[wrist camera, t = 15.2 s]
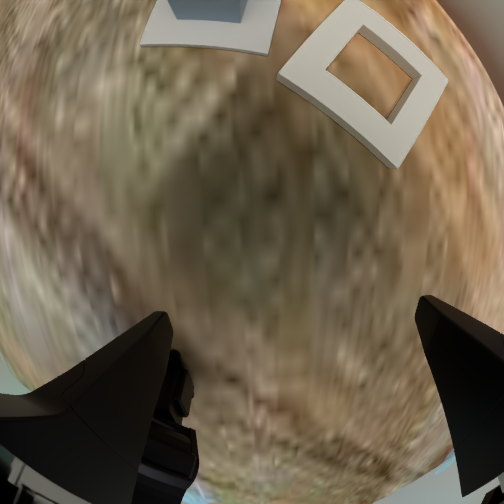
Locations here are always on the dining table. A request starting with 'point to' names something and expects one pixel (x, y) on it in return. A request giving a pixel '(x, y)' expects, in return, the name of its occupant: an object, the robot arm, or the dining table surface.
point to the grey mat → (214, 29)
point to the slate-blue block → (209, 10)
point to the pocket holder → (351, 104)
